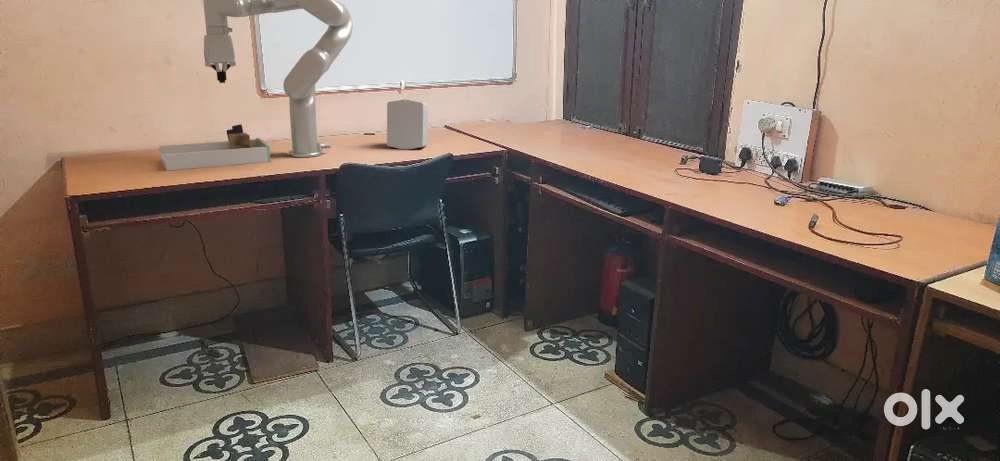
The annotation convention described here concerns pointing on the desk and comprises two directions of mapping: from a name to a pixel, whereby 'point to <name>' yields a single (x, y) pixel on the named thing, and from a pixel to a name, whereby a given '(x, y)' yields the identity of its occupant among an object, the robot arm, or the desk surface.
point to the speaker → (235, 130)
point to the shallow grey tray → (212, 154)
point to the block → (239, 141)
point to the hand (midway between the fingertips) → (222, 82)
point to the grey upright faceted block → (406, 124)
